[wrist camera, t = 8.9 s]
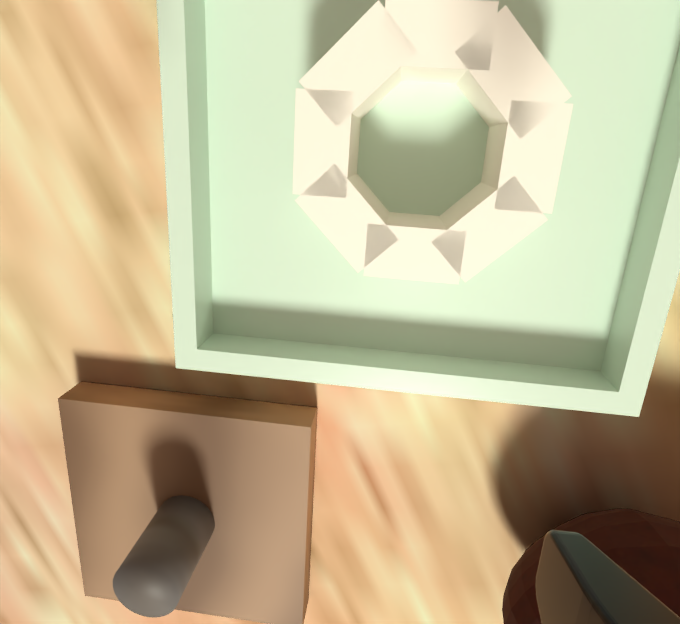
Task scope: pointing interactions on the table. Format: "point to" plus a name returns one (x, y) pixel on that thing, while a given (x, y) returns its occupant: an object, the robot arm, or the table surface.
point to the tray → (422, 212)
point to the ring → (485, 96)
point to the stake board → (207, 467)
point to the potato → (620, 546)
